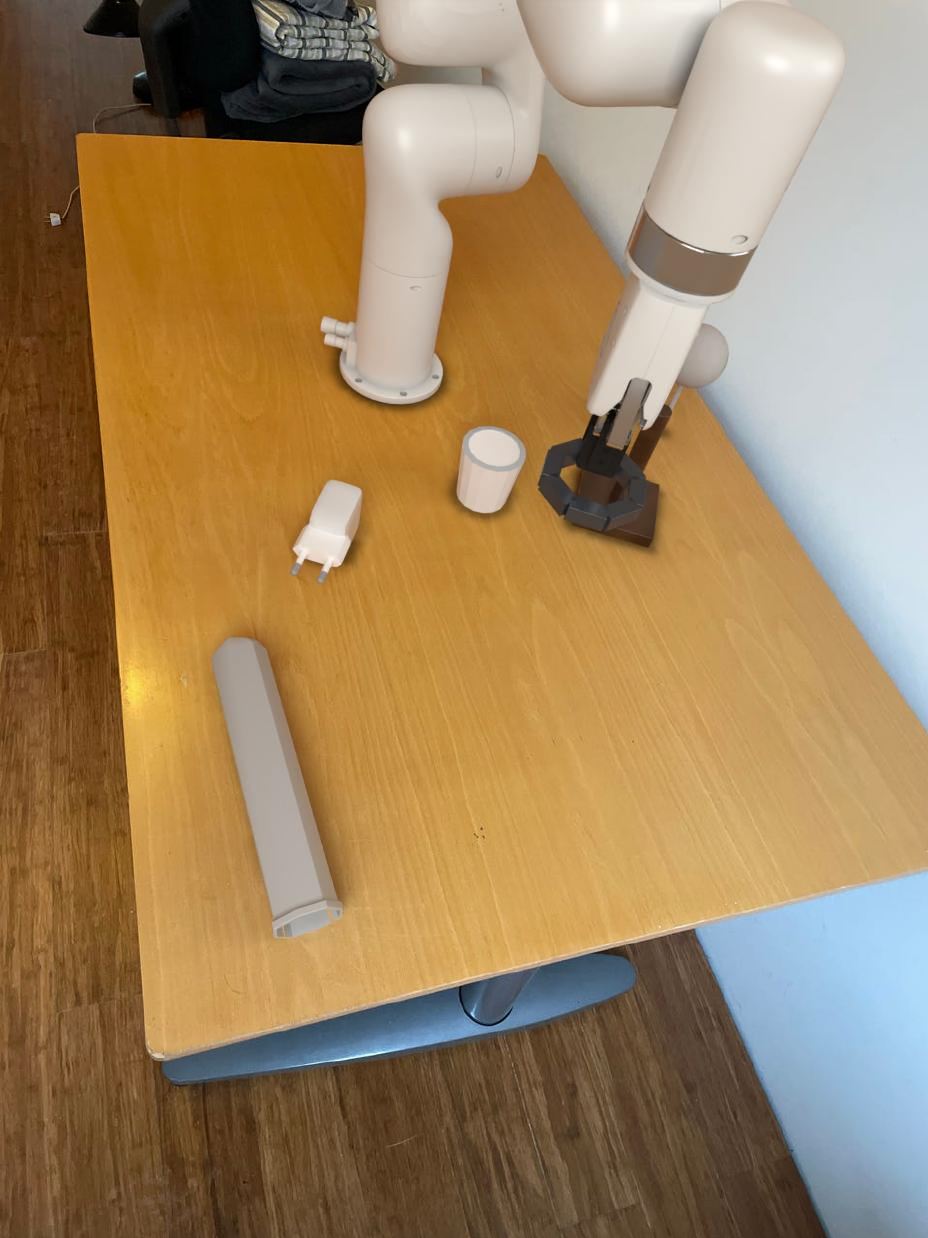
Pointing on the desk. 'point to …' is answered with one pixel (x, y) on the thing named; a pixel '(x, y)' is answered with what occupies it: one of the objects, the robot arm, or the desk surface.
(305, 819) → the tube
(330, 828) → the desk surface
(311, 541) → the power adapter
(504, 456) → the shot glass
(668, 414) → the post
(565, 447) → the ring
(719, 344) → the lollipop
